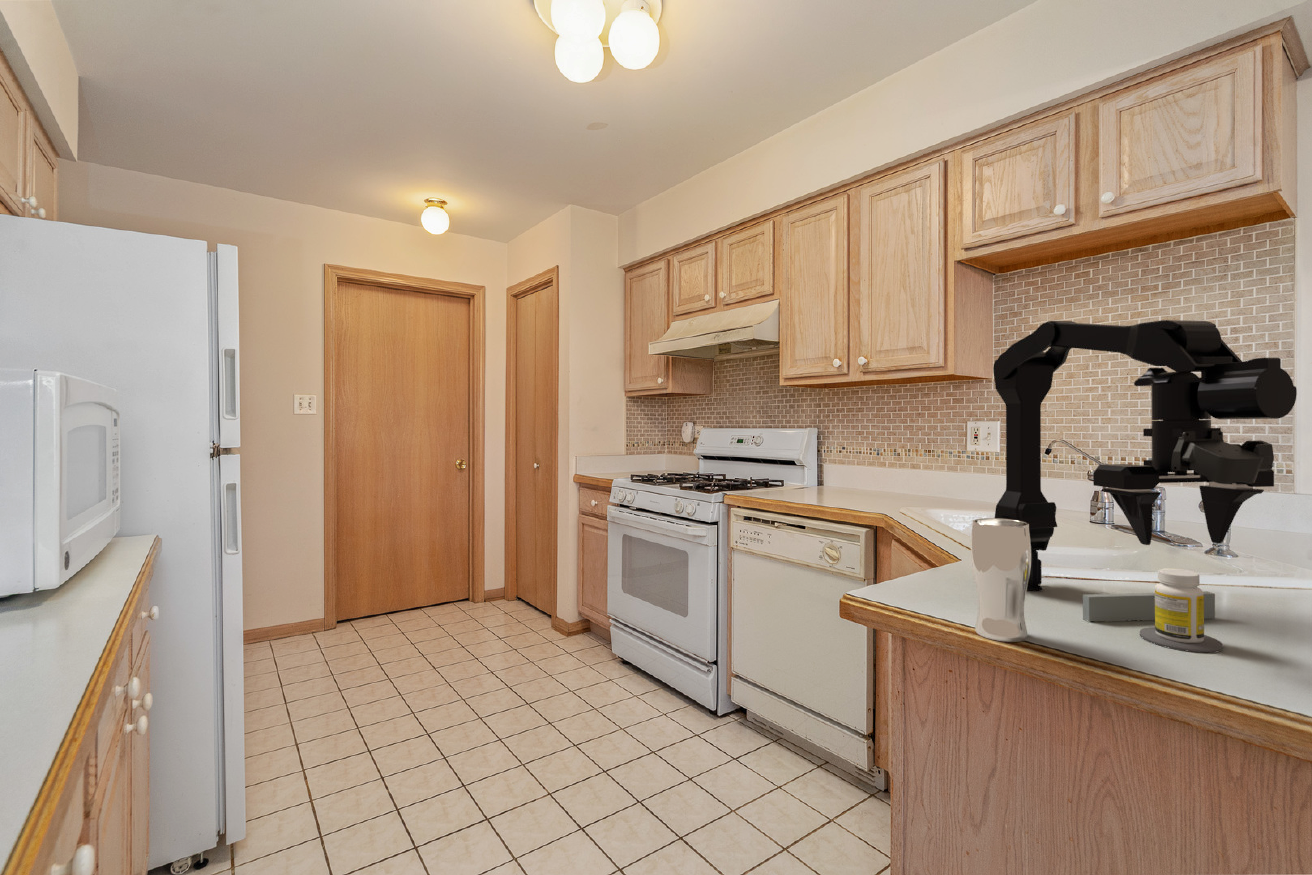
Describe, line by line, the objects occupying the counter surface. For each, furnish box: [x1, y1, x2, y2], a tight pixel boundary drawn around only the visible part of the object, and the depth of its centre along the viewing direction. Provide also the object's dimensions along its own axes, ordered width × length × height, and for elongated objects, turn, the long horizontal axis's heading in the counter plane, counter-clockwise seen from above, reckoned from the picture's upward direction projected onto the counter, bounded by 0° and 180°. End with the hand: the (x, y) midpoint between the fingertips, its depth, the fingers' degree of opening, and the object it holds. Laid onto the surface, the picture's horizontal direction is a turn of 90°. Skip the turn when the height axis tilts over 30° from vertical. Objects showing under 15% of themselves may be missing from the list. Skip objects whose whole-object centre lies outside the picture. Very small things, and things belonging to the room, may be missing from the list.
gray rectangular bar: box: [1082, 591, 1216, 622], centre depth 86 cm, size 18×1×4 cm, turn 91°
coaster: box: [1139, 626, 1224, 653], centre depth 78 cm, size 8×8×1 cm
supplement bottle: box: [1154, 567, 1205, 643], centre depth 77 cm, size 5×5×8 cm
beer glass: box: [970, 517, 1031, 643], centre depth 81 cm, size 7×7×15 cm
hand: (1181, 543), depth 77 cm, fingers open, 9 cm apart
